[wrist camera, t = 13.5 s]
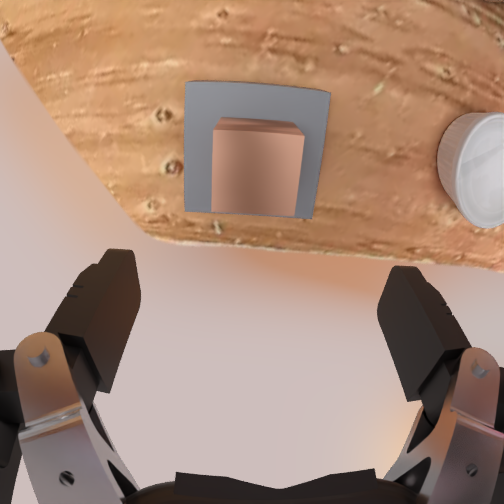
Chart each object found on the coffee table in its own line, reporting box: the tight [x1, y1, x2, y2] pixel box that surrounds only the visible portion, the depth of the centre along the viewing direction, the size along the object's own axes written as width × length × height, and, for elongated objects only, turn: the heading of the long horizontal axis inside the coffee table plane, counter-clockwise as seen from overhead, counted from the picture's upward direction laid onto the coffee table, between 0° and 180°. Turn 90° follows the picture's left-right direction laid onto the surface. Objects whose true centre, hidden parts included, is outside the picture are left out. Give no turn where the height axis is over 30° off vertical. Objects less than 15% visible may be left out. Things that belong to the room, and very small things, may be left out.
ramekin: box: [437, 112, 504, 228], centre depth 23 cm, size 11×11×5 cm
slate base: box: [184, 80, 331, 219], centre depth 24 cm, size 10×10×4 cm
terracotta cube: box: [211, 117, 305, 216], centre depth 20 cm, size 5×5×5 cm
